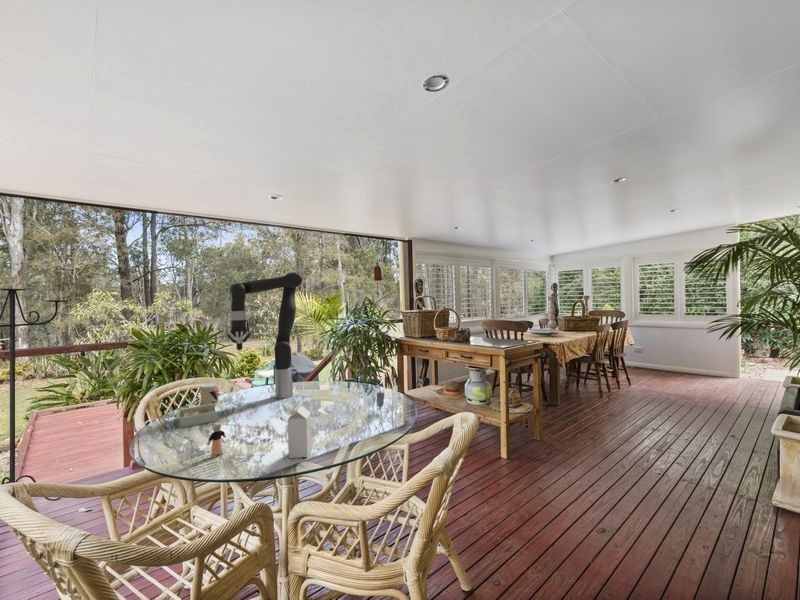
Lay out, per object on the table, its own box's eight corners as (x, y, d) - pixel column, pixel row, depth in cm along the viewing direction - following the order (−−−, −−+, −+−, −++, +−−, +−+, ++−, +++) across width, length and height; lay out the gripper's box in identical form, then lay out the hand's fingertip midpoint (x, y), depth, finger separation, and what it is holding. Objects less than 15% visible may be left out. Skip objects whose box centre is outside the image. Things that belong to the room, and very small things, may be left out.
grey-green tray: (214, 411, 187) (214, 403, 187) (217, 420, 174) (217, 411, 174) (177, 418, 178) (176, 409, 178) (177, 428, 165) (176, 418, 165)
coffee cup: (213, 408, 192) (212, 387, 192) (196, 409, 192) (195, 387, 192) (222, 403, 201) (221, 382, 201) (206, 403, 202) (205, 382, 201)
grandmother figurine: (214, 459, 133) (213, 426, 133) (206, 458, 134) (204, 425, 134) (229, 450, 141) (228, 419, 140) (221, 449, 142) (220, 418, 141)
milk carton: (311, 449, 140) (310, 402, 140) (307, 458, 133) (306, 408, 133) (293, 450, 140) (292, 402, 140) (288, 458, 133) (287, 408, 132)
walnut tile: (212, 413, 185) (212, 408, 185) (212, 417, 180) (211, 411, 180) (199, 415, 182) (198, 410, 182) (198, 419, 177) (198, 413, 177)
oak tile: (198, 417, 180) (198, 411, 180) (197, 421, 175) (197, 415, 175) (185, 419, 178) (185, 413, 178) (183, 423, 172) (183, 417, 172)
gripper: (250, 318, 203) (250, 347, 204) (224, 319, 196) (225, 350, 197) (252, 318, 197) (253, 349, 198) (226, 320, 190) (227, 352, 191)
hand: (239, 349), depth 197 cm, fingers closed
